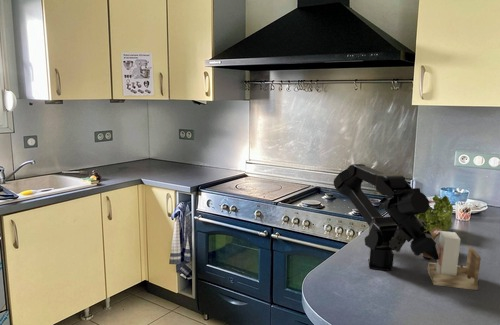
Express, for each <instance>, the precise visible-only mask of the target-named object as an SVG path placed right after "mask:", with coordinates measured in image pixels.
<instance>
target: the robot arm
mask: <svg viewBox="0 0 500 325" xmlns="http://www.w3.org/2000/svg"><path fill="white" fill-rule="evenodd" d="M364 182H367V183H368V184H371V185H372V186H374V187H375V190H376V191H377V193H379V194H380V195H382V196H386V197H382V198H381V199H380V200H379V206H378V208H379V210H385V212H387V214H388V216H382V214H381V213H380V211H379V210H378V209H377V208H376V206H374V204H373V203H372V201H370V199H369V198H368V197H367V195H366V193H365V192H364V191H363V190H362V183H364ZM333 186H334V188H335V190H336V191H337V192H338V193H339V194H340V195H342V196H344V197H346V198H347V199H349V200H350V202H351V203H352V204H353V205H354V207H355V209H357V211H358V213H359V214H360V215H361V216H362V218H363V219H364V221H365V222H366V224H367V225H368V226H369V227H368V234H367V235H366V237H364V245H365V246H366V247H367V248H369V254H368V255H369V257H368V268H369V269H373V270H383V271H392V267H393V266H394V257H395V256H394V255H395V254H394V251H395V252H396V253H399V252H400V251H401V249H402V248H403V246H404V245H405V243H406V242H407V243H410V244H409V246H410V250H411V251H412V253H413V254H414V255H415V257H418V256H420V255H421V254H422V253H423V252H426V253H427V254H428V255H429V256H431V257H432V259H433V260H435V261H437V260H438V259H439V257H438V253H437V250H436V246H435V245H436V242H435V240H434V239H433V237H432V235H431V233H430V231H427V232H424V231H426V228H425V227H426V224H425V223H424V221H423V220H422V219H419V218H417V217H416V214H420V213H424V212H426V211H427V210H428V208H429V205H430V200H429V199H428V197H427V195H425V193H424V192H421V188H419V187H416V188H414V187H412V186H411V185H410V184H409V183H408V181H407V180H406V177H405V176H404V175H402V174H394V173H393V174H392V173H383V172H381V171H379V170H377V169H374V168H373V167H369V166H367V165H366V164H364V163H355V164H354V163H353V164H350V165H349V166H348V167H347V168H346V169H344V170H342V171H339V173H337V175H336V176H335V178H334V179H333ZM422 255H423V254H422Z"/></svg>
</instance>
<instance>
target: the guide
mask: <svg viewBox="0 0 500 325" xmlns="http://www.w3.org/2000/svg"><path fill="white" fill-rule="evenodd" d="M481 259H482V257H481V256H480V255H479V253H478V252H477V251H476V250H475V249H474V247H471V246H469V247H468V251H467V258H466V265H463V264H460V265H457V273H456V276H455V275H447V274H438V272H437V270H436V267H437V262H431V261H430V262H428V263H427V264H428V266H427V269H426V270H427V273H428V275H429V276H430V280H431V282H432V284H433V285H434V286H442V287H450V288H458V289H465V290H475V291H478V290H479V285H478V282H479V275H480V273H479V272H480V267H481Z"/></svg>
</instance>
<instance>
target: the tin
mask: <svg viewBox="0 0 500 325" xmlns="http://www.w3.org/2000/svg"><path fill="white" fill-rule="evenodd" d="M440 231H444V230H442V229H438V228H434V229H433V230H432V231H430V233H431V235H432V237H433V239H434V240H435V242H436V245H435V246H436V250H437V248H438V243H439V240H440ZM422 257H423V258H427V259H433V258H432V257H431V256H429V255H428V254H427V253H426V252H423V253H422Z"/></svg>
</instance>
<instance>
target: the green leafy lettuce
mask: <svg viewBox="0 0 500 325" xmlns="http://www.w3.org/2000/svg"><path fill="white" fill-rule="evenodd" d="M432 200H433V202H434V204H433V206H431V205H430V204H429V208H428V210H427V211H426V212H424V213H420V214H416V217H417V218H419V219H422V220H423V221H424V223H425V224H426V227H425V228H426V231H424V232H427V231H432V230H433V229H434V228H438V229H442V230H444V231H446V232H449V230H450V229H451V228H452V226H453V222H452V219H453V217H454V215H453V213H454V207H453V206H454V205H453V204H451V201H450V200H449V197H448V196H447V195H444V196H443V197H439V196H438V195H436V194H434V197H432Z"/></svg>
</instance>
